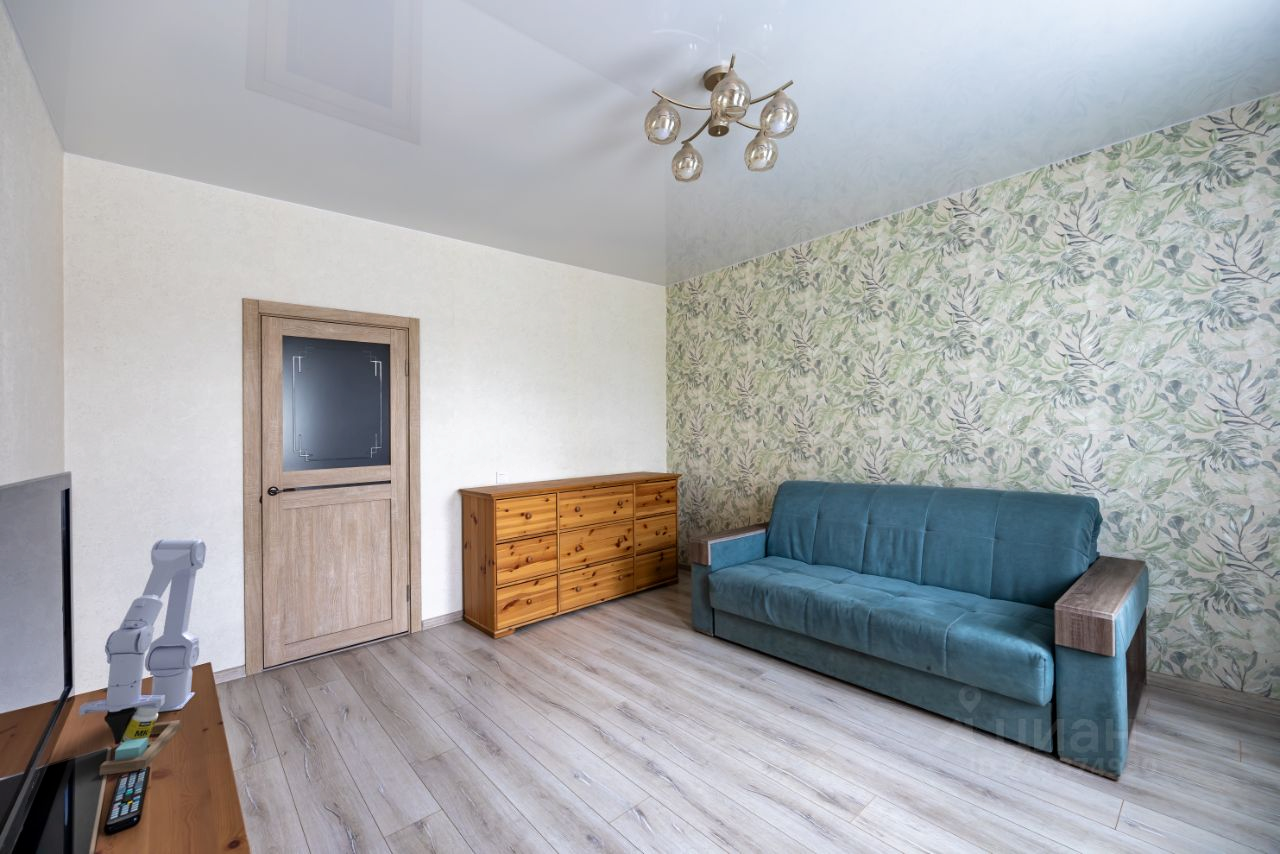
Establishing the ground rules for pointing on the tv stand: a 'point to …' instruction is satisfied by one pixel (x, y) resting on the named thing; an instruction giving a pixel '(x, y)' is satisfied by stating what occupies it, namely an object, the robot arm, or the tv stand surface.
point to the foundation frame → (152, 750)
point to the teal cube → (131, 749)
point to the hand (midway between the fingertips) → (119, 741)
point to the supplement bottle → (141, 723)
